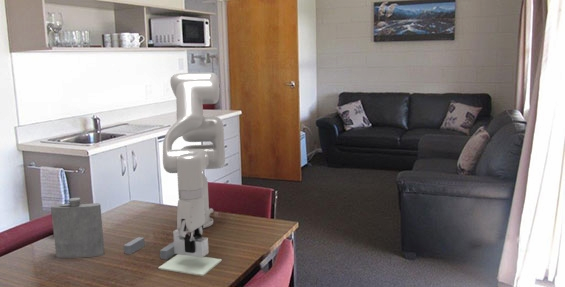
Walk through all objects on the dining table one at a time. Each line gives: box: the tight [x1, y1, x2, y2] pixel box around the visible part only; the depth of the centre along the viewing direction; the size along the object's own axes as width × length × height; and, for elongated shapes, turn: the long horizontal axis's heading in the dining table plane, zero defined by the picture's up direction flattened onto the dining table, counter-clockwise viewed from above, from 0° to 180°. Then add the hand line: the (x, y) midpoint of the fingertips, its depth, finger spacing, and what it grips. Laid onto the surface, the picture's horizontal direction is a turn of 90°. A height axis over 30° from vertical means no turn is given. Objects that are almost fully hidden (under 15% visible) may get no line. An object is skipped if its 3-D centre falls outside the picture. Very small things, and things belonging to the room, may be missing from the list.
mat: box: [158, 254, 223, 277], centre depth 161 cm, size 12×16×1 cm
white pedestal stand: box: [172, 228, 209, 257], centre depth 159 cm, size 4×10×8 cm, turn 69°
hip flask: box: [50, 197, 106, 259], centre depth 169 cm, size 16×4×20 cm, turn 93°
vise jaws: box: [123, 236, 176, 261], centre depth 171 cm, size 8×17×3 cm, turn 69°
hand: (193, 249), depth 159 cm, fingers closed on white pedestal stand, 4 cm apart
